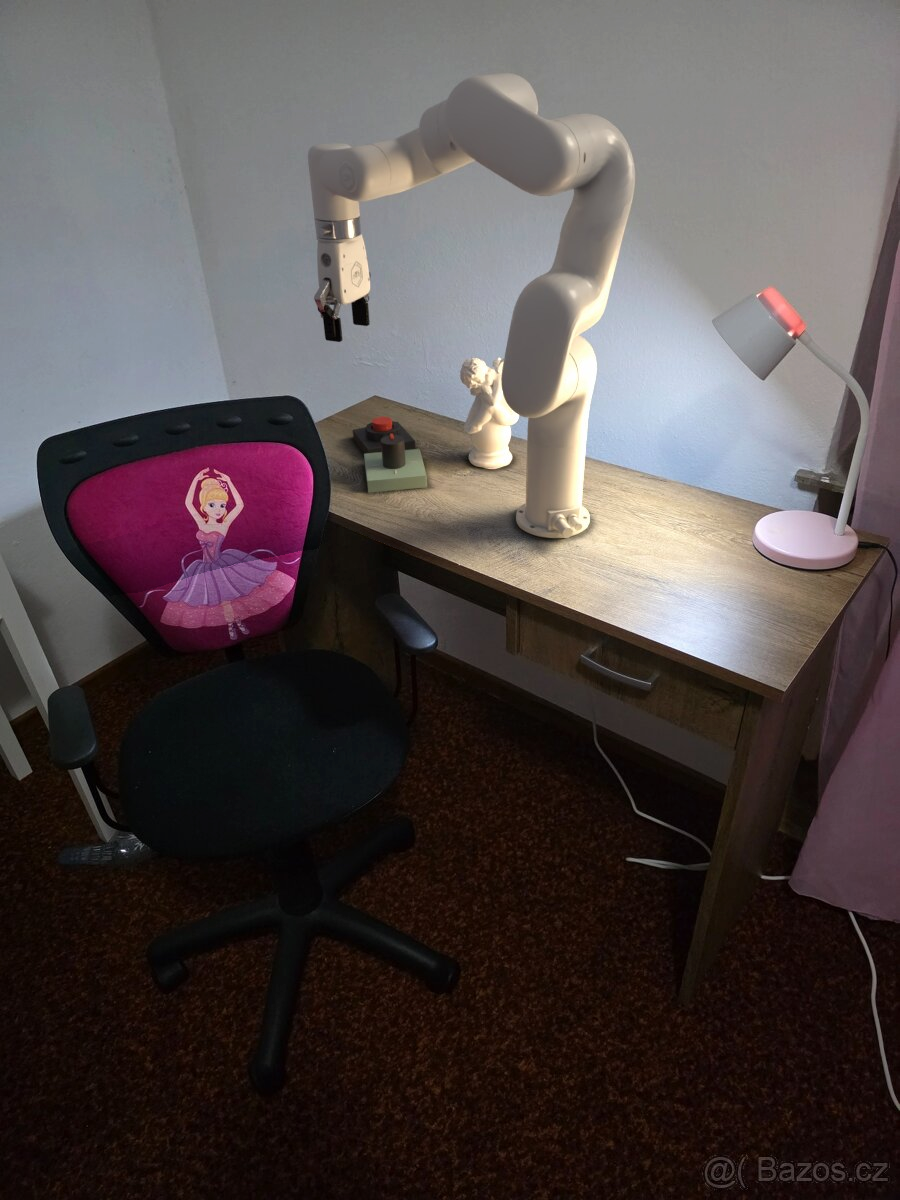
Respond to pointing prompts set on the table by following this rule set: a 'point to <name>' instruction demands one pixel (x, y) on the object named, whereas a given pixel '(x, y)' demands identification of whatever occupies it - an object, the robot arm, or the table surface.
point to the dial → (393, 451)
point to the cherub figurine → (487, 414)
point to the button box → (380, 437)
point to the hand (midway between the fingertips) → (348, 332)
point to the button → (382, 424)
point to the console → (395, 473)
